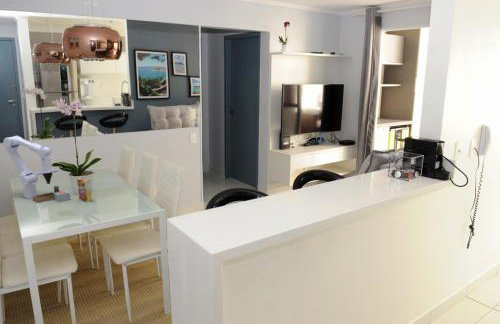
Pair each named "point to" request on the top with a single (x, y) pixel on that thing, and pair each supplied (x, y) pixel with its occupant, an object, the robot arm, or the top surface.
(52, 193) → the carriage
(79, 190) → the candy box
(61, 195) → the button housing
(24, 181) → the robot arm
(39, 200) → the rail
